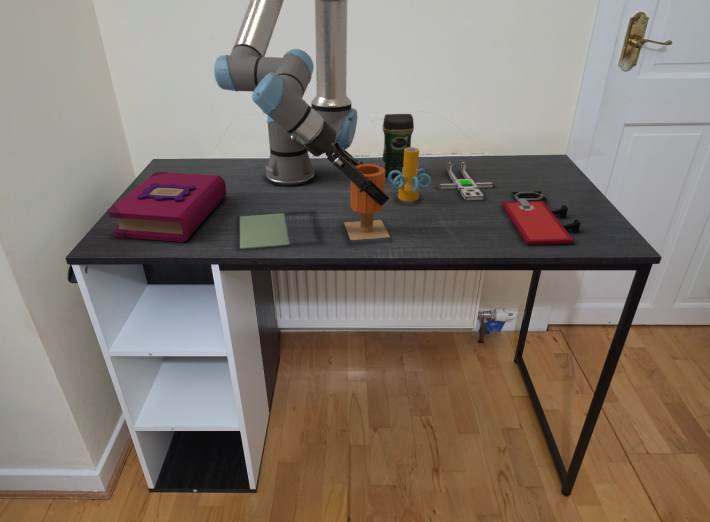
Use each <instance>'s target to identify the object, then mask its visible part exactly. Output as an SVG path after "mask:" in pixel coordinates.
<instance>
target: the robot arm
mask: <svg viewBox="0 0 710 522" xmlns="http://www.w3.org/2000/svg"><path fill="white" fill-rule="evenodd" d="M348 1H349V0H314V16H315V17H314V25H315V26H314V28H315V29H314V31H315V33H314V34H315V35H314V36H315V64H314V61H313V59H312V57H311V56H310V55H309V54H308V53H307V52H306V51H304V50H302V49H300V48H292V49H290V50H288V51H286V53H285V54H284V55H283V56H282V57H277V56H276V57H274V56H273V57H272V56H266V54H267V51H268V48H269V46H270V42H271V39H272V37H273V34H274V31H275V27H276V26H277V21H278V19H279V16H280V13H281V9H282V7H283V4H284V2H285V0H249V3H248V5H247V9H246V12H245V14H244V17H243V20H242V23H241V25H240V28H239V30H238V33H237V36H236V39H235V42H234V44H233V47H232V49H231V52H230V54H224V55H219V56H218V57H217V58H216V60H215V62H214V67H213V74H214V78H215V82H216V84H217V86H218V87H219V88H220V89H222V90H224V91H225V90H226V91H233V92H252V96H251V99H252V102H253V103H254V104H255V105H256V106H257V107H258V108H259V109H260V110H261V111H262V112H263V114H265V115H266V116H267V120H266V123H267V132H268V143H269V157H268V162H267V165H265V170H266V171H265V177H266V181H267V182H268V183H270V184H273V185H275V186H280V187H281V186H282V187H294V186H302V185H305V184H308V183H310V182H311V181H313V180H314V179H315V168H314V166H313V164H312V160H311V158H310V155H309V154H311V155H312V156H314V157H317V158H318V157H320V156H322V155H324V154H325V156H326V158H327V160H328V161H329V162H330V163H331V164H332V165H333V166H334V167H336V168H337V169H338V170H339V171H340V172H341V173H342V174H343V175H345V176H346V178H348V180H350V182H351V181H352V182H353V183H354V184H355V185H356V186H357V187H358V188H359V189H360V192H363V191H365V192H366V193H367V194H368V195H369V196H370V197H371V198H372V199H374V200H375V201H376V202H377V203H378V204H379V205H380V206H382V205H383V204H384V205H385V204H386V203H387V202H388V200H390V197H389V196H388V195H387V194H386V193H385V191H384V192H383V191H381V190H380V189H379V188H378V187H377V186H376V185H375V184H374V183H373V182H372V181H371V180H368V179H367V178H366V177H365V176H364V175H363V174H362V173H361V172H360V171H359V170H358V169H357V168H356V167H355V166H357V165H361V164H365V163H364V162H363V161H360V162H359V160H358V159H357V158H356V157H354V156H353V155H352V154H351V153H349V152H348V151H347V149H349V148H350V147H351V145H352V143H353V141H354V138H355V135H356V131H357V124H358V110H357V109H355V108H354V107H353V108H352V104H353V103H352V100H351V99H350V98H349V97H348V95H347V78H348V77H347V73H348V71H347V65H348ZM314 65H315V67H314ZM314 69H315V82H316V83H315V85H316V87H315V88H316V89H315V91H316V95H315V97H313V99H312V100H311V104H310V105H309V104H308V103H307V102H306V100H304V99H303V98H304V95H305V93H306V90H307V88H308V86H309V84H310V83H311V80H312V76H313V73H314Z"/></svg>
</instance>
